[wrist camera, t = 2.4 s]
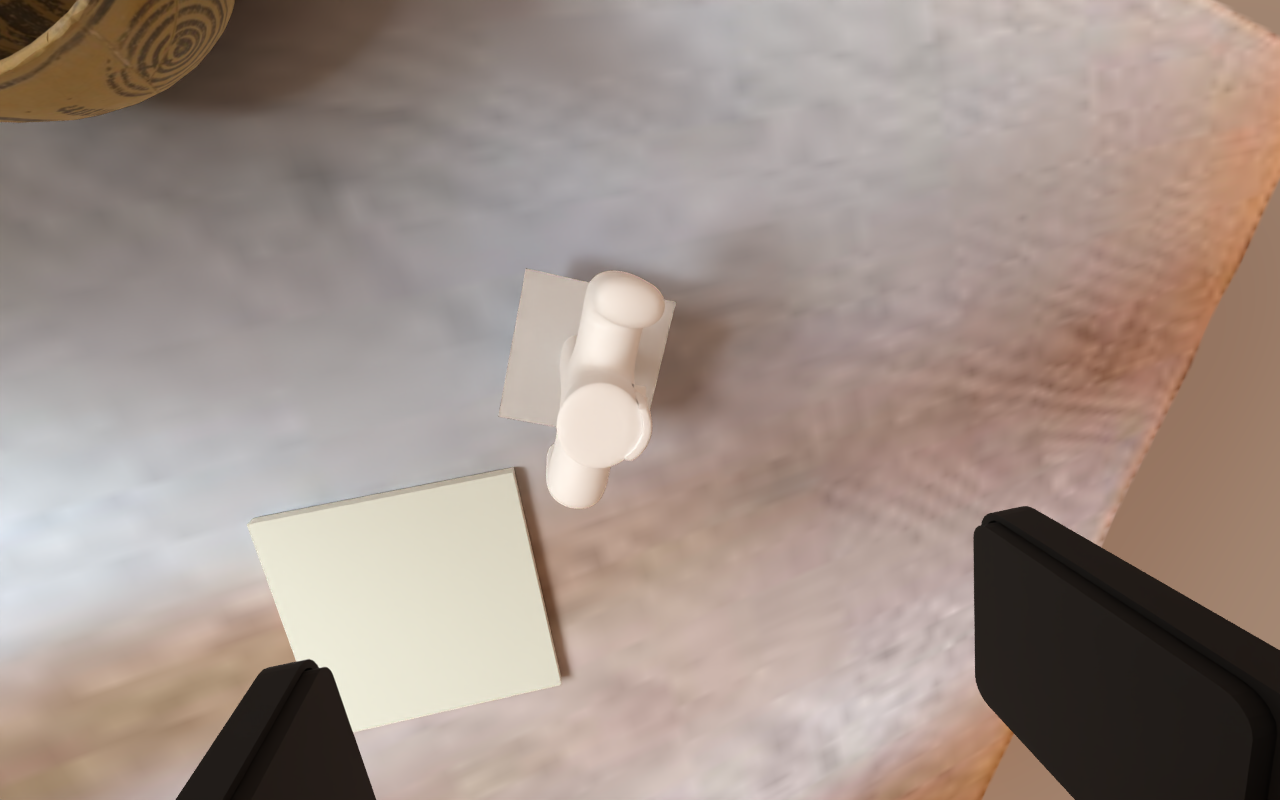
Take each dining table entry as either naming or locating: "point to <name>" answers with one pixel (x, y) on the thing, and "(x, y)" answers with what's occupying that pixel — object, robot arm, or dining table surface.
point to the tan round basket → (99, 53)
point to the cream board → (413, 596)
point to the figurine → (586, 373)
